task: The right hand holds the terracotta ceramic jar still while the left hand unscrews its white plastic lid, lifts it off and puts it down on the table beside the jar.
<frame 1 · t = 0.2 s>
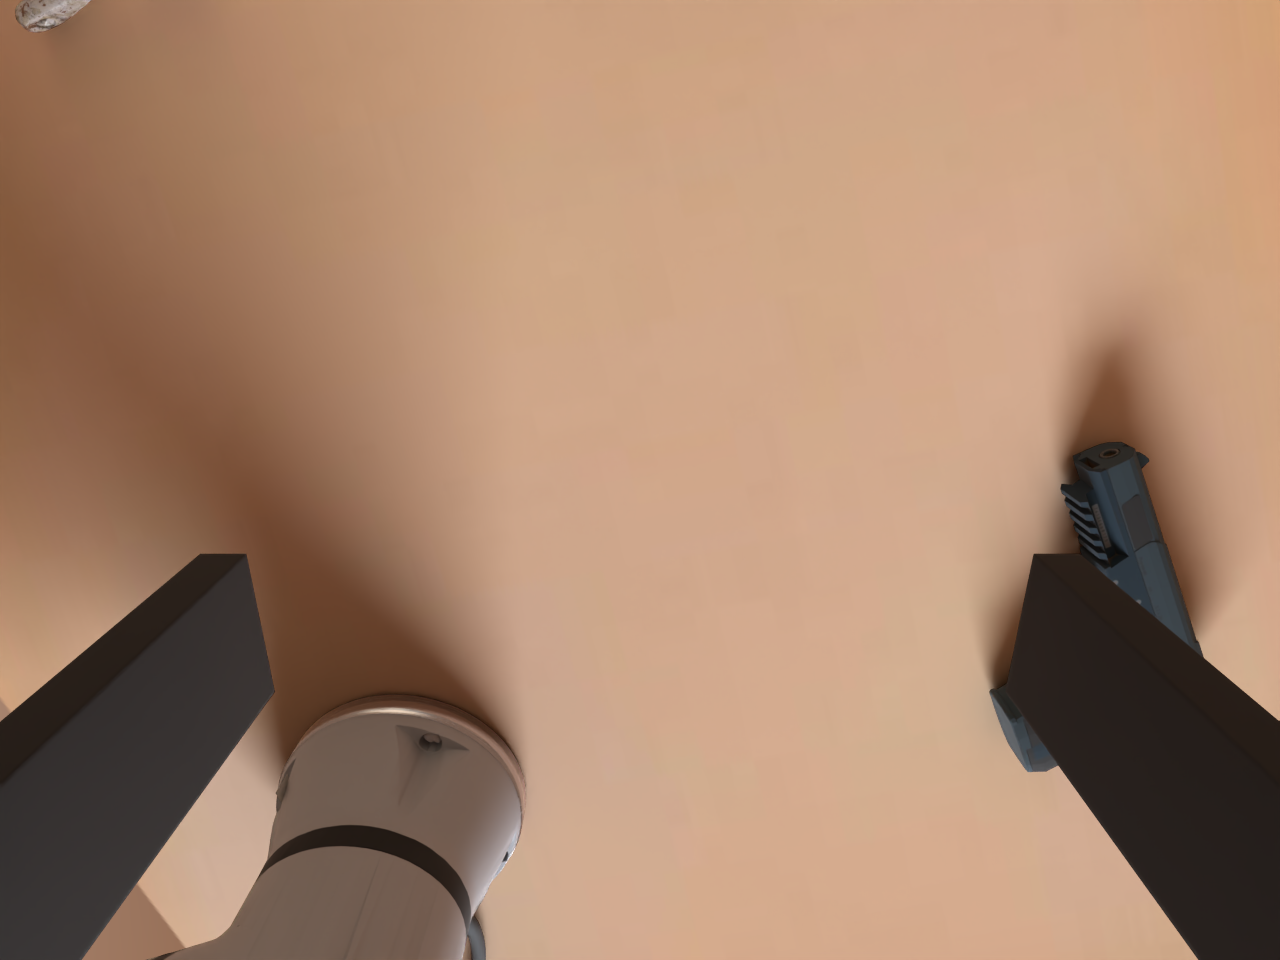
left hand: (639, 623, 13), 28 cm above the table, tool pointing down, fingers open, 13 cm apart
handgun: (1060, 601, 45), on the table
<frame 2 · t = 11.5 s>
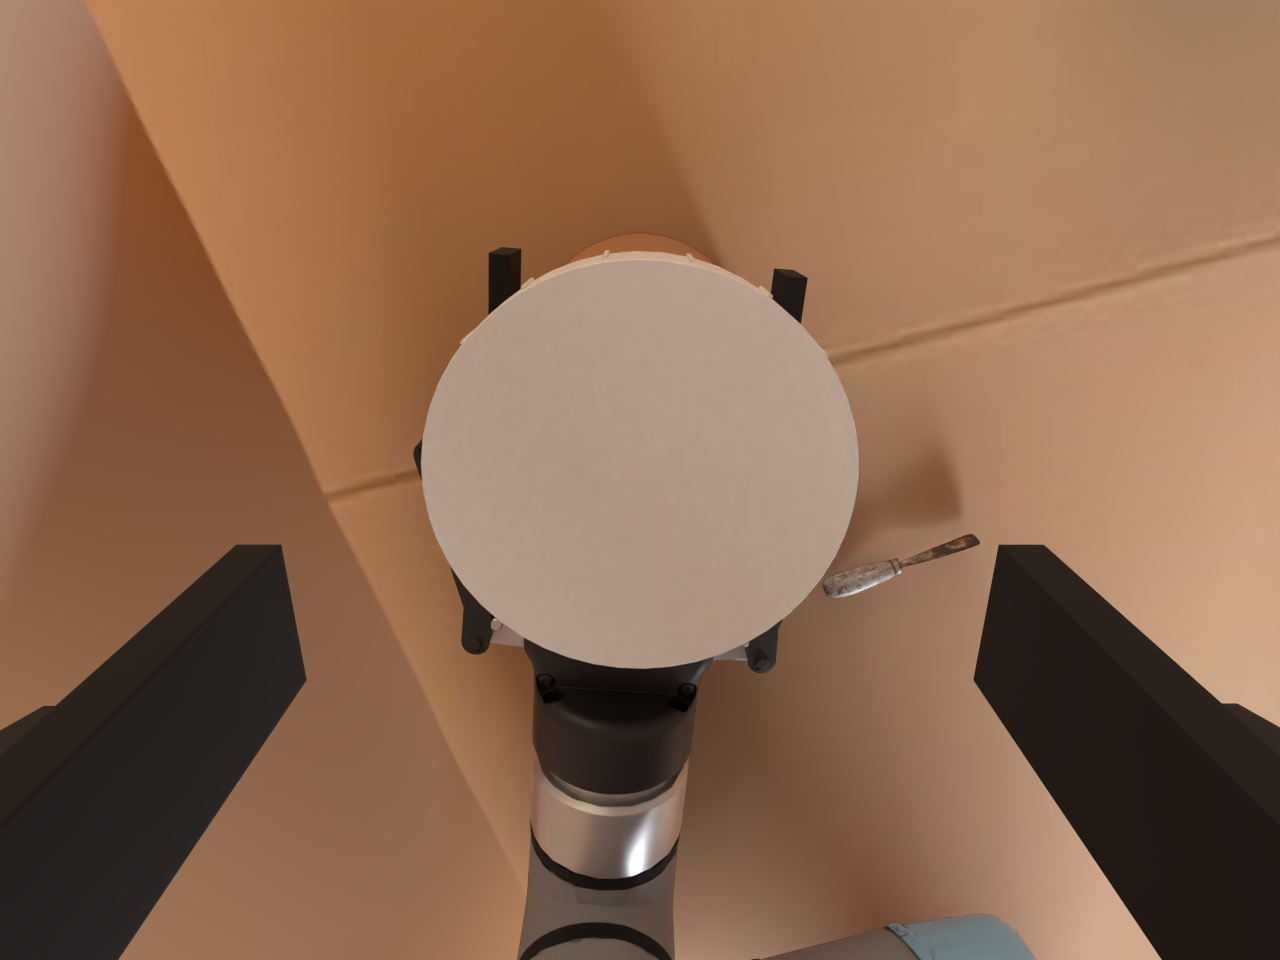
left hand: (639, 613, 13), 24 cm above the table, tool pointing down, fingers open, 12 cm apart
lid: (639, 480, 19), point 18 cm above the table, screwed on, not yet turned
jar: (639, 343, 36), on the table, touching right hand
putty knife: (892, 555, 40), on the table
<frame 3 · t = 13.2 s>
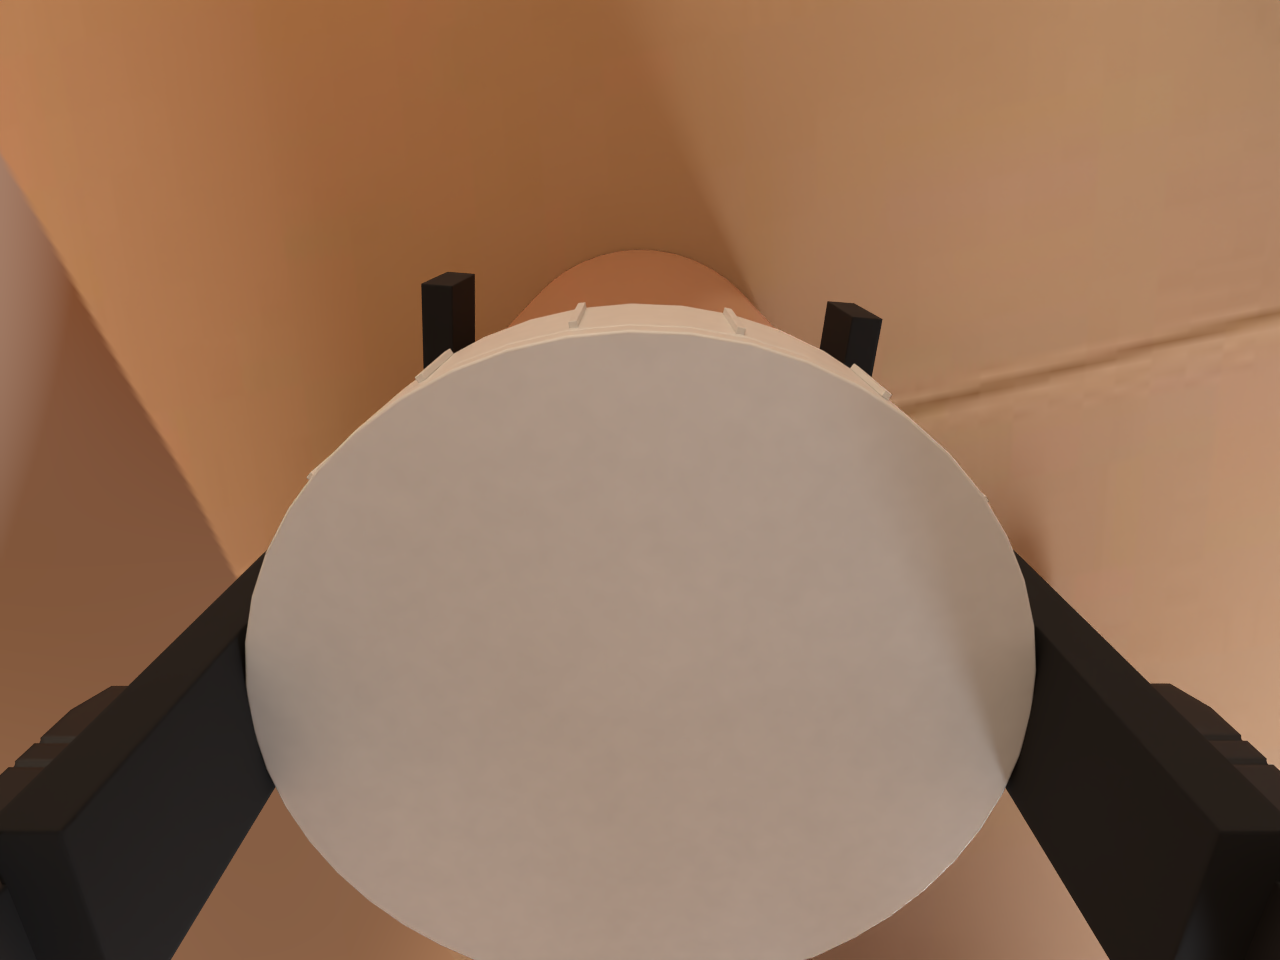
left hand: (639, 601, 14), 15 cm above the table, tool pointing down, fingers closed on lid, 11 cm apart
lid: (640, 705, 11), point 18 cm above the table, screwed on, not yet turned, touching left hand
jar: (640, 392, 28), on the table, touching right hand
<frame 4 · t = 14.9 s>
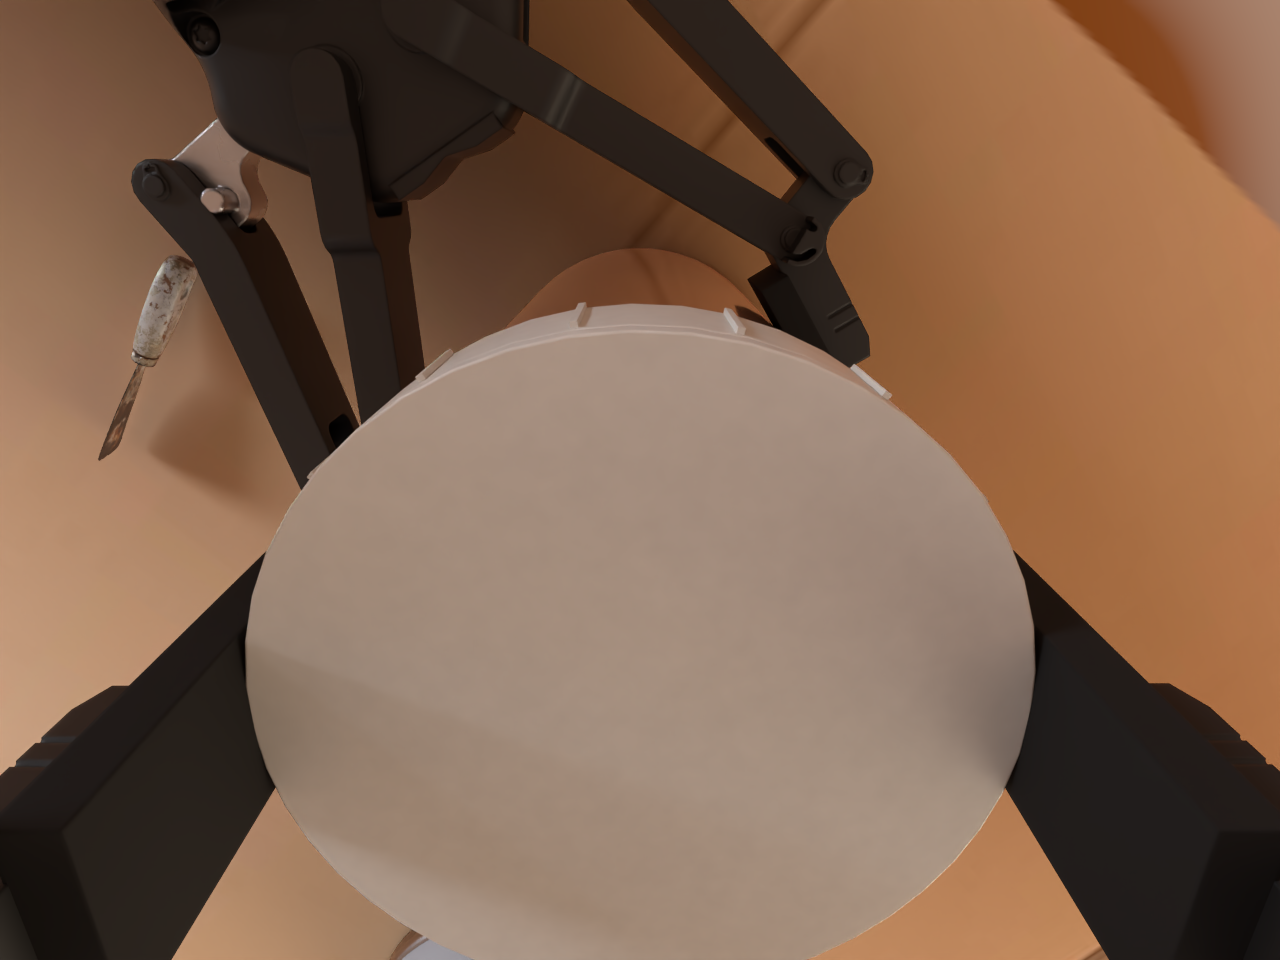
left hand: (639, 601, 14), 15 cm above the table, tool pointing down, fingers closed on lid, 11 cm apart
right hand: (714, 558, 23), fingers closed on jar, 10 cm apart
lid: (640, 705, 11), point 18 cm above the table, off its thread, touching left hand
jar: (639, 388, 28), on the table, touching right hand
putty knife: (162, 356, 28), on the table
when the left hand's fingers open (0 cm above the table, at t = 20.9 s): lid drops 1 cm, point 2 cm above the table.
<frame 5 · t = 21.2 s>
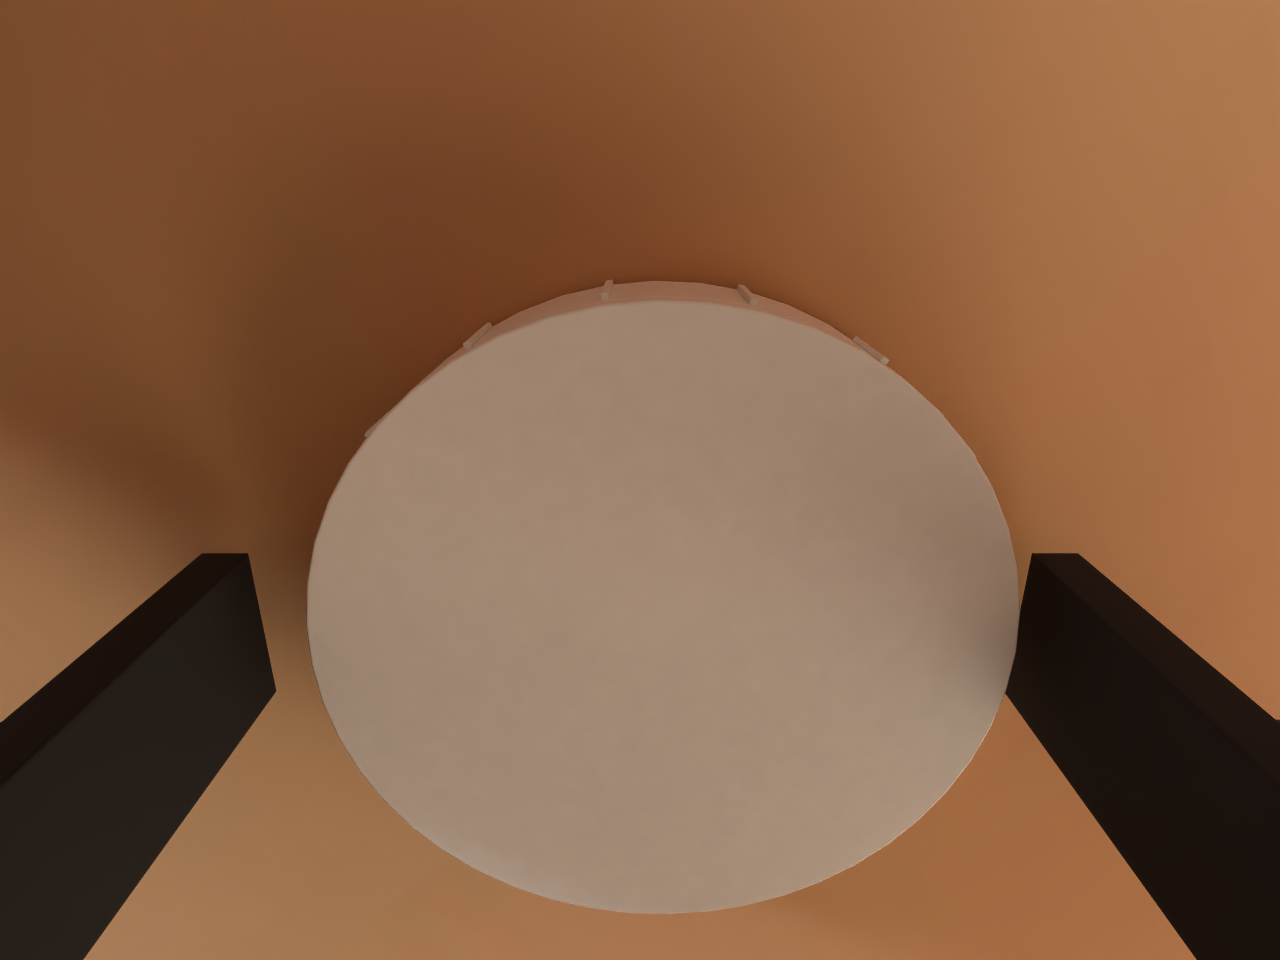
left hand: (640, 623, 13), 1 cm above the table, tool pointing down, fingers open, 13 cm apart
lid: (660, 646, 12), point 2 cm above the table, off its thread
when the right hand's fingers open (6 cm above the table, at t = 22.0 s): jar stays where it is, on the table.
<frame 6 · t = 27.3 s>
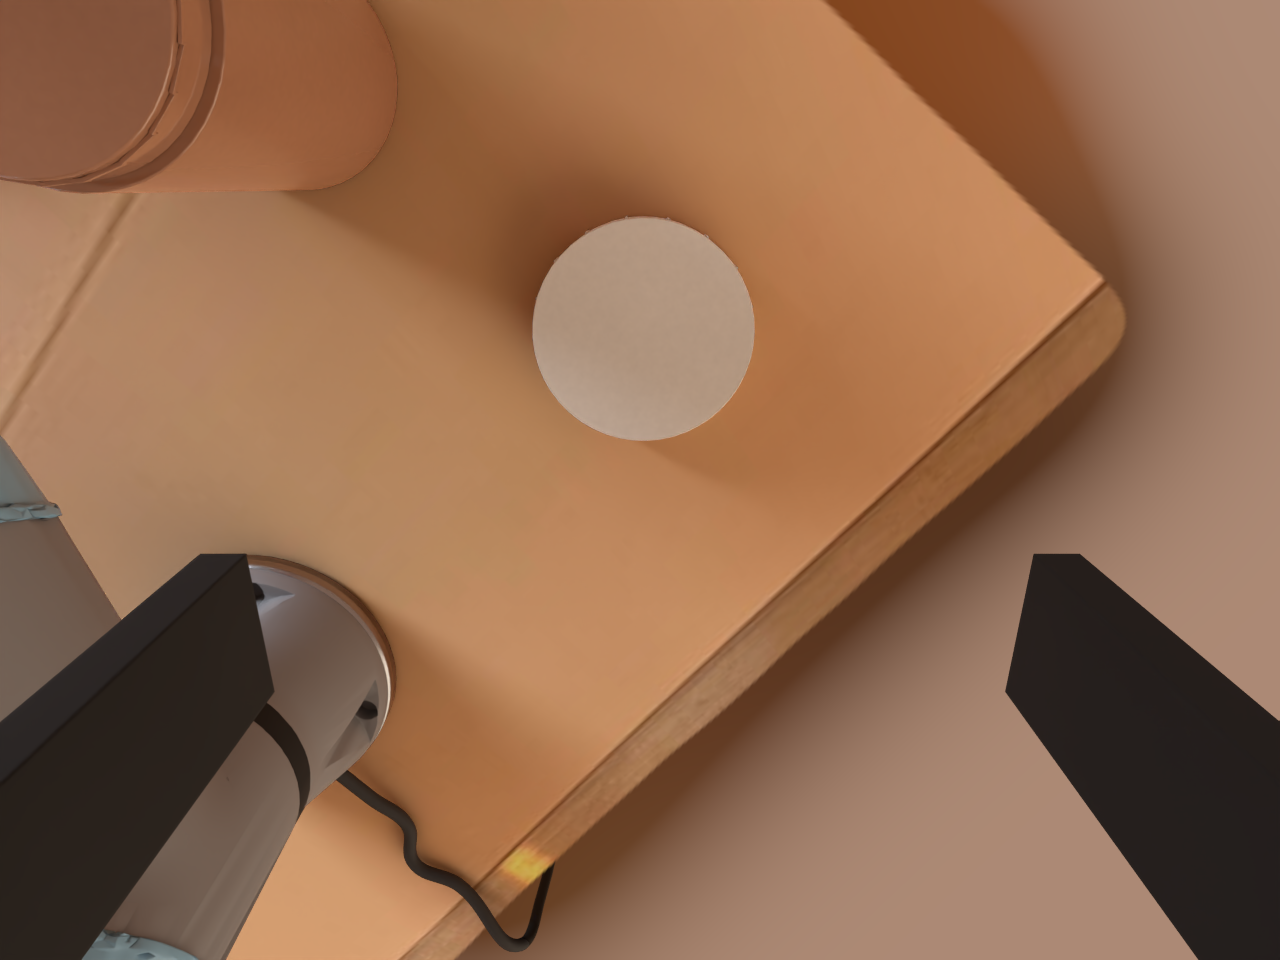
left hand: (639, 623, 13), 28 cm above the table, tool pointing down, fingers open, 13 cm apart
lid: (643, 334, 38), point 2 cm above the table, off its thread
jar: (289, 75, 35), on the table
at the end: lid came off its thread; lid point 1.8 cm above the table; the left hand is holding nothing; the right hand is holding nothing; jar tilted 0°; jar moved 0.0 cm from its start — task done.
